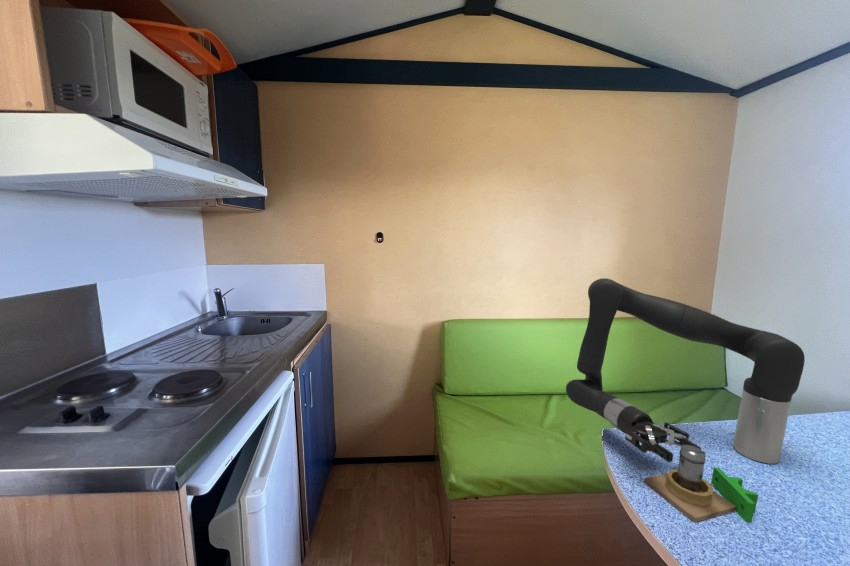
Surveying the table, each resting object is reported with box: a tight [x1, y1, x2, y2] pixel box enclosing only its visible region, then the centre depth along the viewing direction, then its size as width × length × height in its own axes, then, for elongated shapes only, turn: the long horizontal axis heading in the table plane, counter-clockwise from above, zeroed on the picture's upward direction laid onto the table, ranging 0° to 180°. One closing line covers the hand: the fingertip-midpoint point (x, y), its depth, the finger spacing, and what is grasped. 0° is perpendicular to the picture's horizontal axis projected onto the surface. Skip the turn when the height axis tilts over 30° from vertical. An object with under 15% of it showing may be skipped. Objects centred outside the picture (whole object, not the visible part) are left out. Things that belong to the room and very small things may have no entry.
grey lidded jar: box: [676, 445, 707, 493], centre depth 78 cm, size 5×5×10 cm
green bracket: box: [710, 466, 759, 523], centre depth 77 cm, size 11×4×5 cm, turn 171°
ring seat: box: [643, 468, 736, 523], centre depth 79 cm, size 12×12×4 cm
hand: (686, 455), depth 79 cm, fingers open, 8 cm apart
